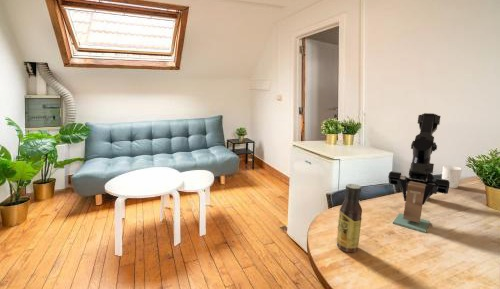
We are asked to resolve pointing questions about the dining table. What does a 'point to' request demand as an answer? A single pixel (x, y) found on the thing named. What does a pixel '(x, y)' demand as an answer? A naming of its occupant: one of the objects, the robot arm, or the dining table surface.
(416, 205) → the letter block
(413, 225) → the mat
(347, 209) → the sauce bottle
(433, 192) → the robot arm
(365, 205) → the dining table surface
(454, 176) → the white cup
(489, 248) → the dining table surface
